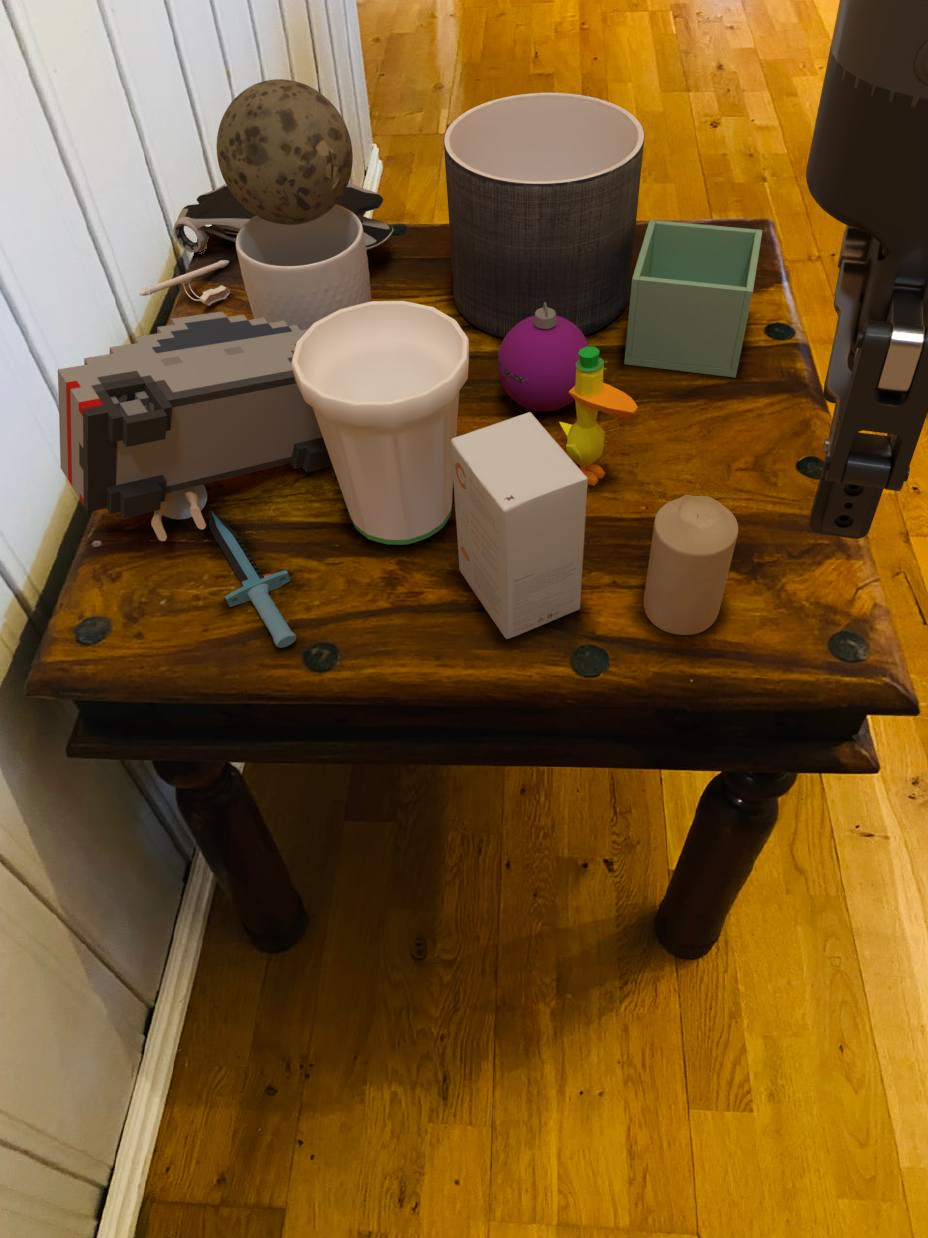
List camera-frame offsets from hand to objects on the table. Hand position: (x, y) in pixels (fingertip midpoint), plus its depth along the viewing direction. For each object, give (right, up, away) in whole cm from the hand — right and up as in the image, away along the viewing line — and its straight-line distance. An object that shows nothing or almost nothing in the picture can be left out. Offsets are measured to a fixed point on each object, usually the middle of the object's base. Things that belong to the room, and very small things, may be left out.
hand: (842, 460), depth 41 cm
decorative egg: (-28, +28, +34) cm, 53 cm away
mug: (-29, +18, +53) cm, 63 cm away
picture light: (-43, +28, +59) cm, 78 cm away
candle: (0, -6, +31) cm, 32 cm away
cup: (-21, +2, +39) cm, 45 cm away
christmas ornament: (-9, +13, +47) cm, 50 cm away
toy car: (-32, +6, +34) cm, 47 cm away
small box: (-12, -5, +33) cm, 35 cm away
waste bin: (+5, +20, +52) cm, 56 cm away
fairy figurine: (-38, 0, +34) cm, 51 cm away
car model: (-35, +37, +62) cm, 81 cm away
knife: (-35, -4, +34) cm, 49 cm away
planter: (-8, +26, +59) cm, 65 cm away
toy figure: (-5, +5, +41) cm, 41 cm away
